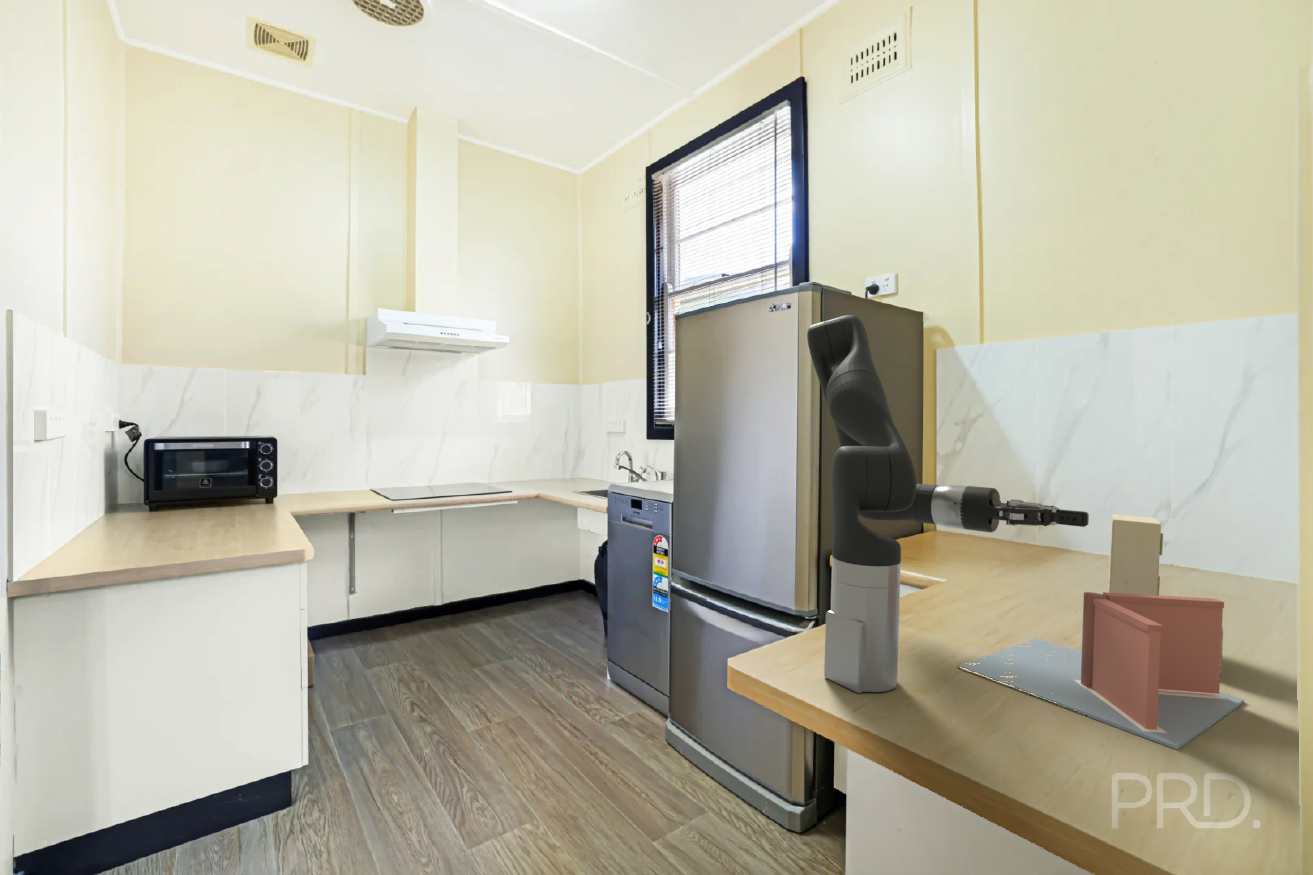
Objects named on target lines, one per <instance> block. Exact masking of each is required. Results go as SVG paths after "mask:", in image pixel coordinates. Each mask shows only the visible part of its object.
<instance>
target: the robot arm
mask: <svg viewBox="0 0 1313 875" xmlns="http://www.w3.org/2000/svg"><path fill="white" fill-rule="evenodd" d="M867 334H868V333H867V330H866V328H865V325H864V323H863V321H862V320H861V318H859V316H857V315H854V314H847V315H841V316H839V317H835V318H832V319H828V320H825V321H821V322H818V323H815V324H812V325H810V326H809V327H808V329H807V332H806V335H807V336H806V338H807V339H806V340H807V346H808V350H809V353H810V357H811V361H812V363H813V367H814V369H815V373H816V376H817V379H818V382H819V384H820V387H821V391H822V393H823V395H824V398H825V401H826V404H827V406H828V410H829V415H830V417H831V419H832V420H833V423H834V426H835V429H836V433H837V438H838V441H839V446H840V447H839V448H838V449H837V450H836V451H835V453H834V456H833V459H832V466H831V488H832V490H831V491H832V549H831V550H832V551H831V582H830V584H831V585H830V586H831V589H830V610H827V611H826V613H825V630H824V632H825V636H824V637H825V638H824V671H823V672H824V673H823V675H824V676H823V677H825V678H827V680H828V679H829V681H832V682H834V683H837V684H838V685H840V686H843V687H844V688H847V689H849V690H851V691H853V692H855V693H858V694H861V693H863V692H864V693H865V692H866V693H867V692H869V693H882V692H889V691H891V690H894V689H895V688H896V687H897V686H898V671H899V670H898V666H899V631H900V630H899V629H900V624H899V623H900V599H901V598H900V597H901V595H900V594H901V566H902V564H901V562H902V548H901V544H900V542H899V541H897V539H895V538H893V537H891V536H888V535H886V534H883V533H880V532H877V531H875V530H873V529H871V528H869V527H867V526H866V525H864V524H863V523H862V522H861V521H860V519H861V518H862V519H864V520H872V521H908V522H915V523H922V524H929V525H939V526H942V527H946V528H951V529H959V530H965V531H966V530H967V531H976V532H983V533H984V532H985V533H994V532H995V531H997V529H998V527H999V524H1000V521H1003V522H1004V521H1005V525H1007V526H1014V527H1015V526H1018V525H1021V526H1027V527H1028V526H1029V527H1038V526H1043V527H1048V526H1057V525H1062V526H1072V527H1081V528H1086V526H1088V525H1089V523H1090V522H1089V521H1090V520H1089V516H1090V515H1089V512H1087V511H1084V510H1083V511H1080V510H1073V509H1060V508H1059V507H1058V506H1055V505H1045V504H1043V503H1041V502H1040V503H1039V502H1030V501H1024V500H1022V499H1010V500H1006V502H1002V501H1001V495H1000V493H999V490H998V489H997V488H995V487H987V486H986V487H984V486H972V485H971V486H970V485H959V484H945V485H938V484H937V485H936V484H924V483H917V474H916V471H915V467H914V466H915V465H914V463H913V460H912V457H911V455H910V453H909V450H908V449H907V448H908V447H906V444H905V442H904V441H903V438H902V437H901V434H900V433H899V430H898V429H897V427H896V425H895V422H894V420H893V419H894V418H893V417H892V414H891V411H890V406H889V402H888V401H887V396H886V393H885V390H884V386H883V384H882V382H881V378H880V377H879V375H878V372H877V369H876V366H875V364H874V361H873V357H872V353H871V349H870V343H869V338H868V335H867ZM834 367H836V369H835V370H834V371H833V368H834ZM859 517H860V519H859Z"/></svg>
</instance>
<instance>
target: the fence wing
mask: <svg viewBox="0 0 1313 875" xmlns="http://www.w3.org/2000/svg"><path fill="white" fill-rule="evenodd" d="M1102 595H1104V596H1105V599H1107V600H1109V601H1111V602H1113V603H1116V604H1118V605H1120V606H1122V607H1124V608H1126V609H1128V610H1131V611H1133V612H1135V613H1137V614H1139V615H1141V616H1143V617H1145V618H1148V619H1150V620H1152V621H1154V622H1156V623H1158V624H1160V625H1162V626H1163V632H1161V636H1160V663H1159V689H1161V690H1173V691H1186V692H1199V693H1212V694H1219V692H1220V686H1221V685H1220V683H1221V673H1220V665H1221V640H1222V627H1223V611H1224V610H1223V609H1224V608H1225V601H1223V600H1219V599H1217V598H1208V597H1195V596H1194V597H1191V596H1178V595H1176V596H1174V595H1172V596H1171V595H1160V594H1159V595H1141V594H1123V593H1108V592H1102Z"/></svg>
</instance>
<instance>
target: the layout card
mask: <svg viewBox="0 0 1313 875" xmlns="http://www.w3.org/2000/svg"><path fill="white" fill-rule="evenodd" d="M1027 642H1031V643H1025V642H1022V643H1019V644H1016V645H1013V646H1010V647H1007V648H1004V649H1002V650H999V651H995V652H993V653H990V654H986V655H984V656H981V657H979V658H975V659H976V660H975V659H972V660H968V661H967V662H963V663H961V664H958V665H957V667H958V666H959V667H962V668H966V669H968V670H970V671H972V672H977V673H979V674H981V675H984V676H987V677H989V678H992V679H993V680H996V681H1001V682H1003V681H1004V682H1003V683H1006V684H1008V685H1012V686H1014V687H1015V688H1017V689H1021V690H1023V691H1026V692H1029V693H1033V694H1035V695H1037V696H1039V697H1041V698H1045V699H1047V700H1050V701H1052V702H1056V703H1057V704H1059V705H1061V706H1065V707H1067V708H1069V709H1071V710H1070V711H1072V710H1076V711H1077V712H1079V713H1078V714H1080V713H1081V714H1080V715H1082V714H1083V715H1082V716H1085V715H1087V716H1086V717H1089V718H1091V719H1094V720H1096V721H1099V722H1101V723H1104V724H1106V725H1110V726H1112V727H1115V728H1118V729H1120V730H1123V731H1126V732H1128V733H1131V734H1133V735H1136V736H1139V737H1141V738H1145V739H1147V740H1150V741H1152V742H1155V743H1156V744H1157V743H1158V744H1160V745H1164V746H1165V747H1169V748H1171V749H1174V750H1176V751H1177V750H1180V749H1181V748H1182V747H1184V746H1185V745H1186V744H1188V743H1189V742H1190V741H1192V740H1193V739H1195V738H1196V737H1198V736H1199V735H1201V734H1202V733H1203V732H1205V731H1206V730H1207V729H1208V728H1210V727H1212V726H1213V725H1214V724H1215V723H1217V722H1219V721H1220V720H1221V719H1223V718H1224V717H1226V716H1228V714H1230V713H1231V712H1233V711H1234V710H1235V709H1237V708H1239V707H1240V706H1241V705H1243V704H1244V703H1245V699H1244V698H1240V697H1237V696H1234V695H1230V694H1227V693H1224V692H1220V691H1219V694H1212V693H1199V692H1186V691H1173V690H1161V689H1158V715H1157V730H1154V729H1145V728H1144V727H1143V726H1141V725H1140V724H1139V723H1137V722H1136V721H1135V720H1133V719H1132V718H1131V717H1129V716H1128V715H1127V714H1125V713H1124V712H1123V711H1121V710H1120V709H1119V708H1117V707H1116V706H1114V705H1113V704H1112V703H1110V702H1109V701H1108V700H1106V699H1105V698H1104V697H1102V696H1101V695H1100V694H1098V693H1097V692H1096V691H1094V690H1093V689H1092V688H1089V687H1086V686H1084V685H1082V684H1081V660H1082V650H1078V649H1074V648H1071V647H1068V646H1065V647H1064V645H1061V644H1057V643H1054V642H1051V641H1046V640H1044V639H1041V638H1034V639H1031V640H1028V641H1027ZM1047 642H1048V643H1047ZM1017 646H1018V647H1017ZM1019 646H1031V647H1019ZM1052 646H1053V647H1052ZM1054 646H1057V648H1056V647H1054ZM1059 646H1061V648H1060V647H1059ZM1012 651H1013V652H1012ZM1052 651H1053V652H1052ZM1054 651H1057V652H1054ZM1063 651H1065V652H1063ZM1009 655H1010V656H1009ZM1011 655H1014V656H1011ZM1046 655H1050V656H1046ZM1051 655H1052V656H1051ZM1055 655H1056V656H1055ZM1064 655H1065V656H1064ZM1008 659H1011V660H1008ZM1012 659H1014V660H1012ZM1017 659H1018V660H1017ZM1026 659H1027V660H1026ZM1046 659H1048V660H1046ZM1055 659H1056V660H1055ZM1063 659H1066V660H1063ZM965 663H967V664H965ZM969 663H971V665H969ZM972 663H976V665H974V666H973V664H972ZM977 663H980V664H977ZM1005 663H1007V664H1005ZM1009 663H1014V664H1010V665H1009ZM1017 663H1018V664H1017ZM1026 663H1027V664H1026ZM1056 663H1057V664H1056ZM1064 663H1065V664H1064ZM1005 672H1006V673H1005ZM1009 672H1011V673H1009ZM1000 676H1014V677H1013V678H1009V677H1008V678H1006V677H1000ZM1015 676H1017V677H1015ZM1005 681H1006V682H1005ZM1007 681H1008V682H1007ZM1011 681H1013V682H1011ZM1052 693H1053V694H1052ZM1243 702H1244V703H1243ZM1061 706H1060V707H1061ZM1069 709H1068V710H1069ZM1232 710H1233V711H1232ZM1077 712H1076V713H1077ZM1225 715H1226V716H1225Z"/></svg>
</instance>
